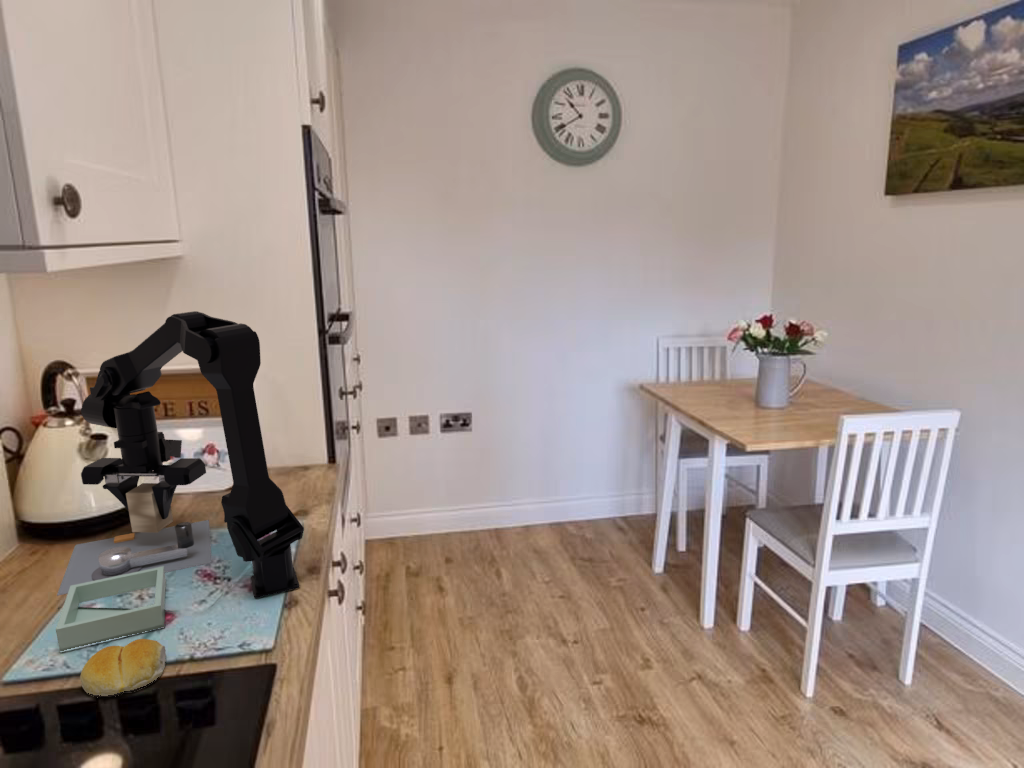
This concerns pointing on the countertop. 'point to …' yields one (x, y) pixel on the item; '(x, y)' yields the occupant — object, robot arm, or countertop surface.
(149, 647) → the bread roll
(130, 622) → the tray
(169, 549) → the crank
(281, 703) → the countertop surface
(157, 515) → the block
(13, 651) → the countertop surface
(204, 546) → the crank base
